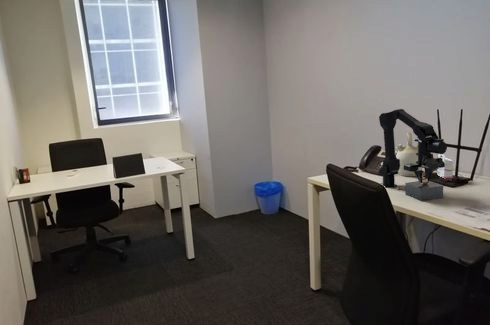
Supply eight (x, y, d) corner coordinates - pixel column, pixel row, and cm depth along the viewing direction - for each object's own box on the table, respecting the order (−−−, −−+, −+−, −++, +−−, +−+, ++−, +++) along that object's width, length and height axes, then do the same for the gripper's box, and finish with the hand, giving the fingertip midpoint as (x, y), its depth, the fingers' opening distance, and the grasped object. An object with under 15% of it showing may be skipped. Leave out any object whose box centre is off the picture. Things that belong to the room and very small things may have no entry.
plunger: (409, 192, 194) (409, 177, 193) (425, 189, 196) (426, 175, 194) (421, 197, 186) (421, 181, 184) (438, 194, 187) (438, 179, 186)
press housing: (405, 194, 196) (405, 182, 194) (426, 191, 198) (426, 179, 197) (420, 201, 184) (421, 188, 183) (443, 197, 186) (443, 185, 185)
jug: (392, 176, 232) (392, 134, 227) (399, 170, 244) (399, 130, 239) (420, 178, 223) (421, 134, 218) (425, 171, 235) (426, 130, 230)
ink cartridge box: (453, 181, 211) (454, 154, 209) (443, 182, 212) (444, 155, 209) (445, 177, 220) (446, 152, 217) (436, 178, 220) (437, 152, 217)
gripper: (417, 156, 177) (417, 189, 180) (453, 151, 181) (452, 184, 184) (403, 152, 188) (402, 183, 191) (437, 148, 191) (436, 179, 195)
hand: (423, 182), depth 190 cm, fingers closed on plunger, 3 cm apart
